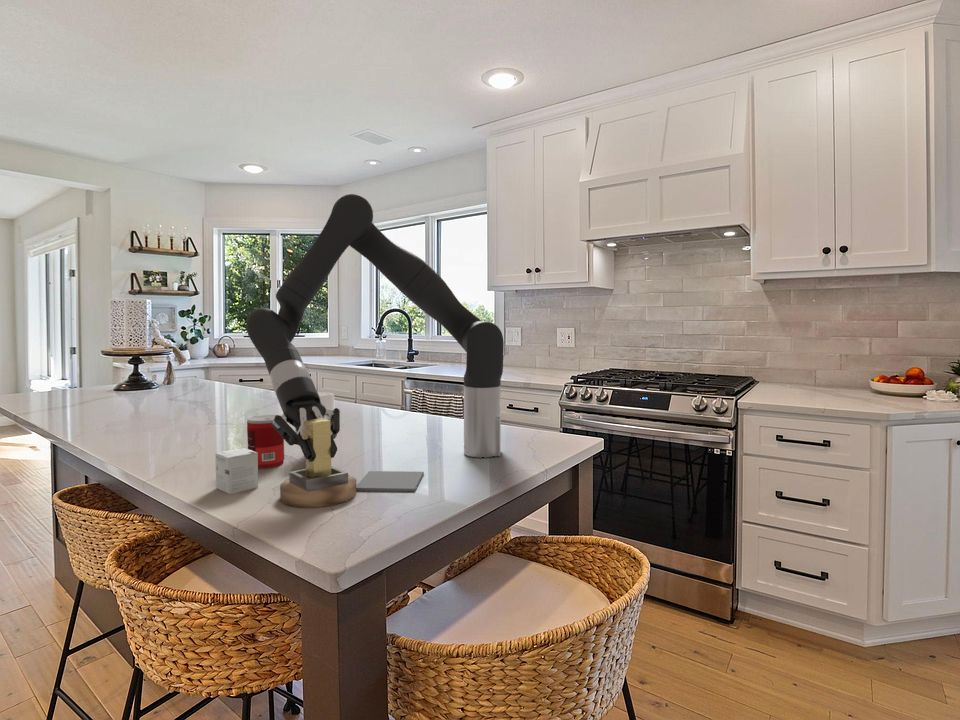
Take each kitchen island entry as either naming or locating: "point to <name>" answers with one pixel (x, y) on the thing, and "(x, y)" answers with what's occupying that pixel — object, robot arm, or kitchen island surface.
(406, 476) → the mat
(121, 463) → the kitchen island surface
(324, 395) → the drinking glass
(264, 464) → the canned food
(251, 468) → the skincare box
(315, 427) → the brass bar
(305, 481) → the copper round socket base
